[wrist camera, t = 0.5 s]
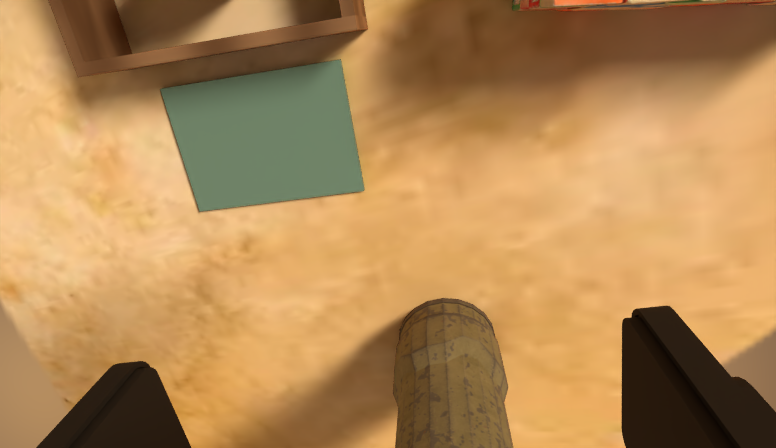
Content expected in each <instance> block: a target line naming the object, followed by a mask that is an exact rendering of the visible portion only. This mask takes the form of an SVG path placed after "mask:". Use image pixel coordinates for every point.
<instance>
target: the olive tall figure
mask: <svg viewBox="0 0 776 448" xmlns="http://www.w3.org/2000/svg"><path fill="white" fill-rule="evenodd" d="M507 390H508V384H507V379H506V375H505V370H504V366H503V361H502V357H501V353H500V349H499V345H498V341H497V340H496V338H495V334H494V330H493V326H492V323H491V322H490V320H489V319H488V318H487V316H486V315H485V313H484V312H482V311H481V310H480V309H478V308H477V307H476V306H474V305H473V304H470V303H467V302H465V301H462V300H459V299H447V298H441V299H437V300H432V301H427V302H425V303H424V304H422V305H420V306H418V307H416V308H414V309H413V311H412V312H411V313H410V314H409V315H408V316H407V317H406V318H405V320H404V322H403V324H402V326H401V329H400V337H399V343H398V345H397V348H396V358H395V369H394V384H393V394H394V397H395V400H396V402H397V405H398V418H397V432H396V445H395V448H513V443H512V439H511V434H510V429H509V424H508V419H507V414H506V409H505V404H504V401H505V397H506V394H507Z"/></svg>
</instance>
